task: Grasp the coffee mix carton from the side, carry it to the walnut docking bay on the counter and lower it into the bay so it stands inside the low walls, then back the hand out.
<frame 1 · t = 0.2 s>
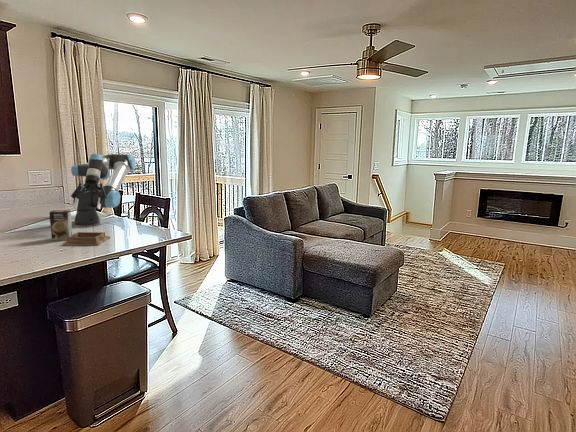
hand: (86, 208, 221), 15 cm above the table, tool tilted 35°, fingers open, 13 cm apart
coffee box: (62, 239, 208), on the table
socket bay: (86, 241, 204), on the table
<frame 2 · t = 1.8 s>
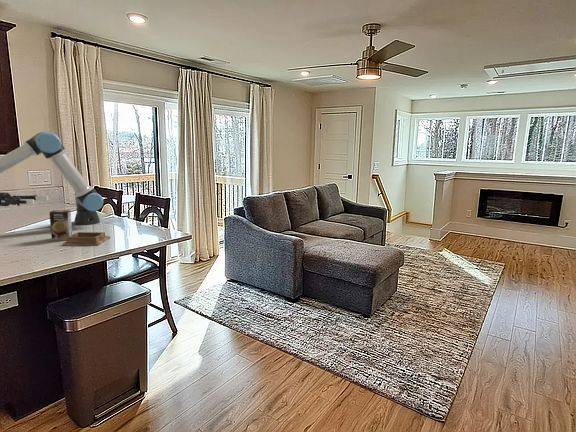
hand: (41, 200, 204), 22 cm above the table, tool horizontal, fingers open, 13 cm apart
nothing on the table moved.
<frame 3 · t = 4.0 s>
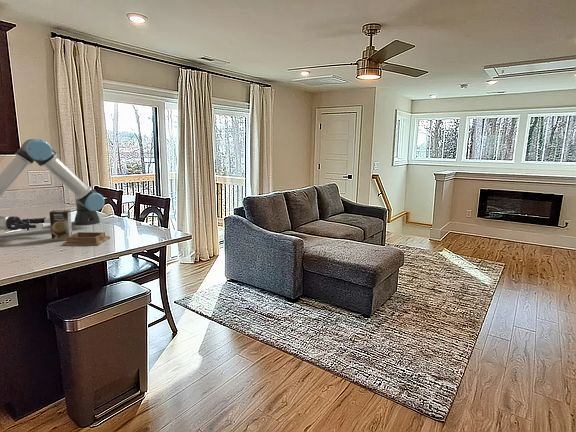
hand: (49, 223, 206), 9 cm above the table, tool horizontal, fingers open, 13 cm apart
nothing on the table moved.
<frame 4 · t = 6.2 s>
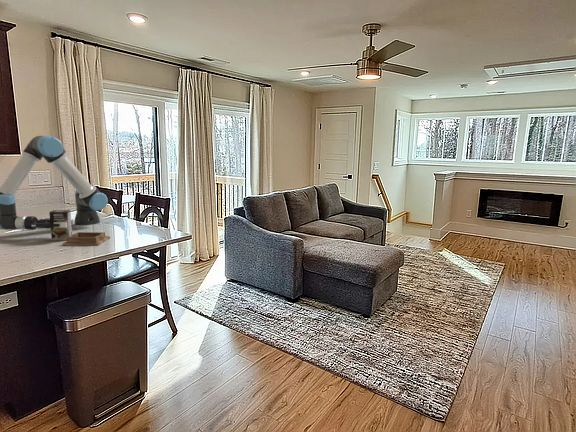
hand: (70, 223, 207), 9 cm above the table, tool horizontal, fingers closed on coffee box, 7 cm apart
coffee box: (62, 239, 208), on the table, touching gripper
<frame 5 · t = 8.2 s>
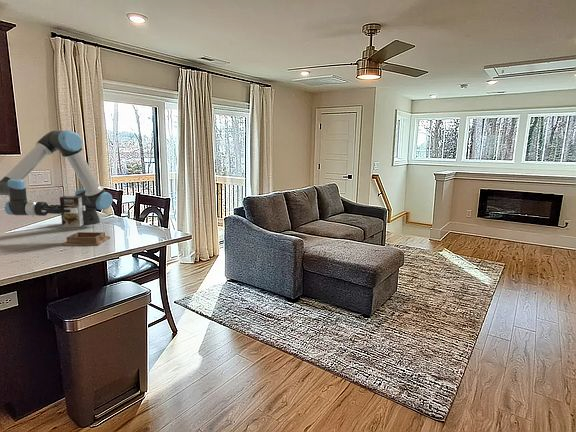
hand: (81, 209, 201), 18 cm above the table, tool horizontal, fingers closed on coffee box, 7 cm apart
coffee box: (73, 225, 202), point 9 cm above the table, touching gripper
when the fingers open (11 cm above the table, at t = 10.2 s): coffee box drops 1 cm, resting on socket bay.
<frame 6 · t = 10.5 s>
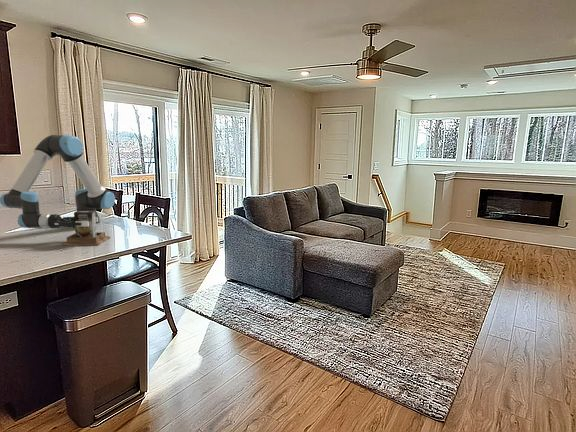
hand: (93, 221, 202), 11 cm above the table, tool horizontal, fingers open, 10 cm apart
coffee box: (86, 240, 203), point 1 cm above the table, touching socket bay
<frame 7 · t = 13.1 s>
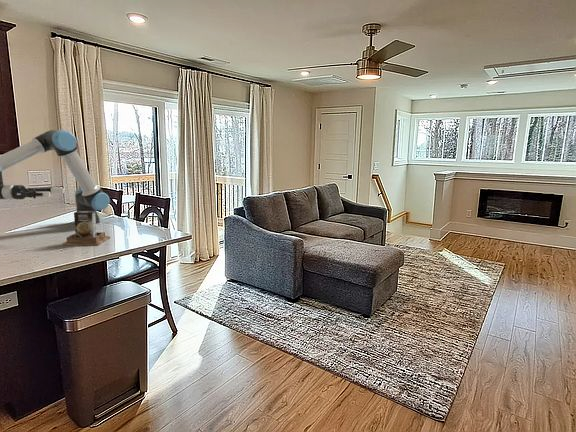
hand: (57, 192, 197), 27 cm above the table, tool horizontal, fingers open, 13 cm apart
nothing on the table moved.
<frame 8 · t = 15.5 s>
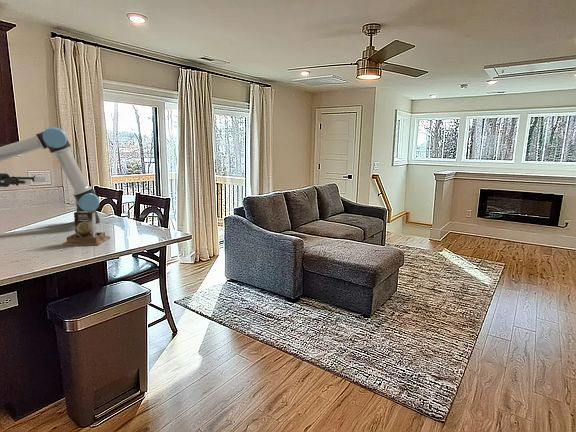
hand: (39, 180, 207), 32 cm above the table, tool horizontal, fingers open, 13 cm apart
nothing on the table moved.
at the end: coffee box inside the target area on the socket bay (0.1 cm from its centre), point 0.8 cm above the socket bay's base; coffee box tilted 0°; the gripper is holding nothing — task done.
